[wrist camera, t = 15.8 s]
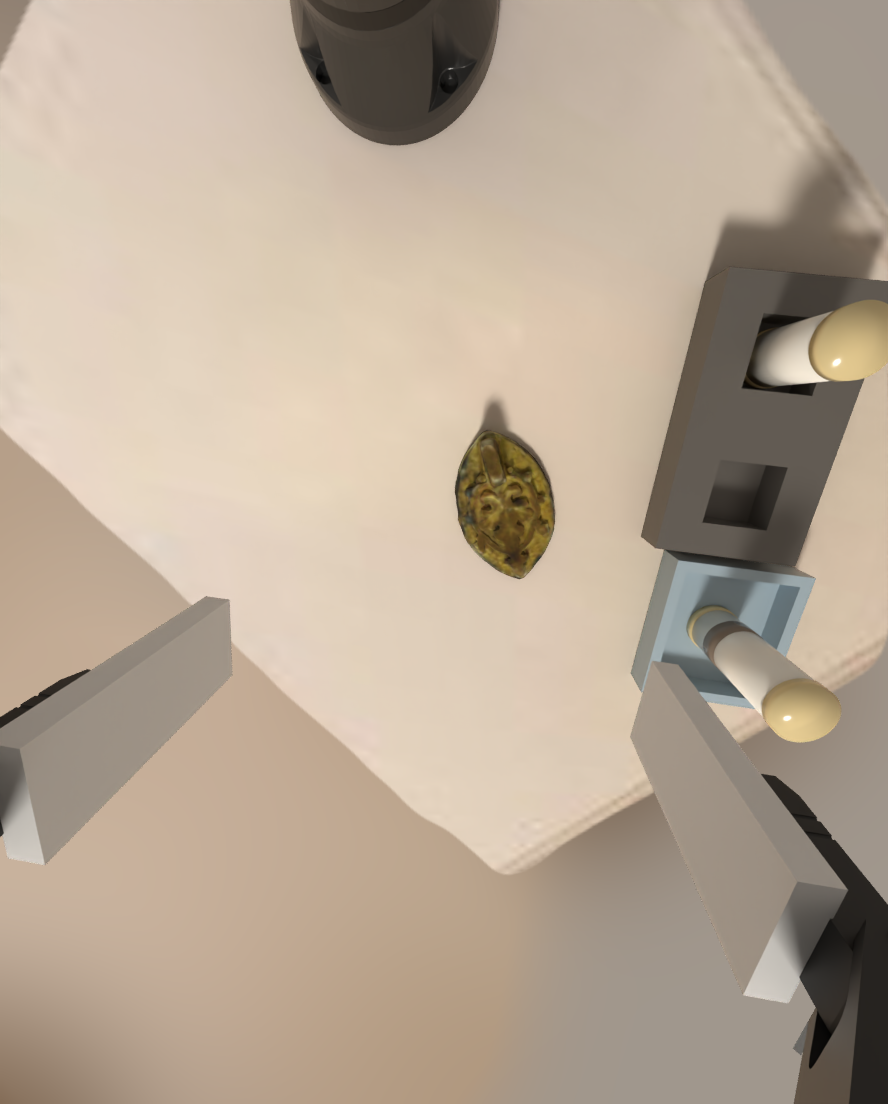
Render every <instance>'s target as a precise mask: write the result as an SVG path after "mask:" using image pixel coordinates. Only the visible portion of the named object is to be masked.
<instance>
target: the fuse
mask: <svg viewBox="0 0 888 1104" xmlns="http://www.w3.org/2000/svg"><path fill="white" fill-rule="evenodd" d="M887 363H888V304H887V303H885V302H882V301H878V300H863V301H859V302H855V303H852V304H849V305H846V306H843V307H840V308H838V309H836V310H835V311H832V312H828V313H825V314H822V315H818V316H815V317H812V318H808V319H805V320H802V321H798V322H795V323H792V324H788V325H785V326H782V327H776V328H771V329H767V330H764V331H761V332H759V333H758V334H757V337H756V341H755V344H754V348H753V351H752V354H751V358H750V361H749V365H748V368H747V372H746V375H745V378H744V382H743V383H744V384H745V385H747V386H748V387H751V388H754V389H767V388H774V387H777V386H785V385H795V384H805V383H815V382H825V381H834V382H841V381H852V380H859V379H863V378H866V377H868V376H870V375H872V374H874V373H876V372H877V371H879V370H880V369H881V368H882V367H884V366H885V365H886V364H887Z"/></svg>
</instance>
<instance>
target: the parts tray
mask: <svg viewBox="0 0 888 1104" xmlns="http://www.w3.org/2000/svg"><path fill="white" fill-rule="evenodd" d="M815 580H816V578H814V577H812V576H810V575H808V574H806V573H804V572H802V571H800V570H798V569H796V568H794V567H792V566H786V565H779V564H771V563H763V562H756V561H748V560H740V559H733V558H725V557H717V556H709V555H702V554H694V553H686V552H679V551H671V550H664V553H663V557H662V561H661V564H660V568H659V572H658V575H657V579H656V583H655V586H654V590H653V594H652V597H651V601H650V605H649V609H648V612H647V616H646V620H645V623H644V627H643V631H642V634H641V638H640V642H639V645H638V649H637V653H636V656H635V660H634V664H633V667H632V671H631V674H632V676H633V678H634V680H635V682H636V684H637V685H638V687H639V689H640V691H641V692H643V690H644V687H645V683H646V680H647V676H648V673H649V669H650V665H651V662H652V661H657V662H664V663H671V664H678V665H679V666H680V668H681V669H682V670H683V672H684V673H685V674H686V676H687V677H688V678H689V680H690V681H691V682H692V684H693V685H694V686H695V688H696V689H697V690H698V692H699V693H700V694H701V696H702V697H703V698H704V700H705V701H706V702H711V703H718V704H724V705H731V706H738V707H745V708H751V709H755V708H754V707H753V706H752V704H751V703H750V702H749V701H748V700H747V699H746V698H745V697H744V696H743V695H742V694H741V692H740V691H739V690H738V689H737V688H736V687H735V686H734V685H733V684H732V683H731V682H730V681H729V679H728V678H727V677H726V676H725V675H724V674H723V673H722V672H721V671H720V670H719V669H718V668H717V667H716V666H715V665H714V664H713V663H712V662H711V661H710V660H709V658H708V657H707V656H706V655H705V653H704V652H703V651H702V650H701V649H700V648H698V647H697V646H696V645H695V644H694V643H693V642H692V641H691V639H690V638H689V637H688V634H687V630H686V626H687V622H688V620H689V618H690V616H691V615H692V614H693V613H694V612H695V611H697V610H698V609H700V608H702V607H704V606H709V605H718V606H722V607H725V608H726V609H728V610H729V611H731V612H732V613H733V614H734V615H735V616H736V617H737V618H738V619H739V620H740V621H741V622H742V623H744V624H746V625H747V626H748V627H750V628H751V629H752V630H753V631H755V632H756V633H757V634H758V635H760V636H761V637H762V638H763V639H764V640H765V641H766V642H767V643H769V644H770V645H771V646H772V647H774V648H775V649H776V650H777V651H778V652H780V653H781V654H782V655H783V656H785V657H786V655H787V652H788V649H789V647H790V644H791V642H792V639H793V636H794V634H795V631H796V629H797V626H798V623H799V621H800V618H801V616H802V613H803V611H804V608H805V605H806V603H807V600H808V598H809V595H810V592H811V590H812V587H813V585H814V582H815Z"/></svg>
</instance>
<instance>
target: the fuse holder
mask: <svg viewBox="0 0 888 1104" xmlns="http://www.w3.org/2000/svg"><path fill="white" fill-rule="evenodd" d="M863 300H878V301H882V302H885V303H887V304H888V281H880V280H869V279H858V278H847V277H836V276H825V275H814V274H804V273H793V272H782V271H771V270H760V269H749V268H738V267H729V268H727V269H725V270H724V271H722V272H721V273H719V274H717V275H716V276H714V277H712V278H711V279H709V280H708V281H706V282H705V285H704V289H703V293H702V297H701V301H700V305H699V309H698V313H697V317H696V321H695V325H694V329H693V333H692V337H691V340H690V344H689V348H688V352H687V356H686V360H685V364H684V368H683V372H682V376H681V380H680V384H679V388H678V392H677V396H676V400H675V404H674V408H673V412H672V416H671V420H670V424H669V428H668V432H667V436H666V440H665V444H664V447H663V451H662V455H661V459H660V463H659V467H658V471H657V475H656V479H655V483H654V487H653V491H652V495H651V499H650V503H649V507H648V511H647V515H646V519H645V523H644V527H643V531H642V535H641V537H642V538H643V539H645V540H646V541H647V542H648V543H650V544H651V545H652V546H653V547H655V548H658V549H666V550H673V551H681V552H689V553H697V554H704V555H712V556H720V557H727V558H735V559H743V560H750V561H758V562H766V563H773V564H781V565H789V566H795V565H796V563H797V560H798V557H799V554H800V552H801V549H802V546H803V544H804V541H805V538H806V535H807V533H808V530H809V527H810V525H811V522H812V519H813V516H814V514H815V511H816V508H817V506H818V503H819V500H820V497H821V495H822V492H823V489H824V487H825V484H826V481H827V478H828V476H829V473H830V470H831V468H832V465H833V462H834V459H835V457H836V454H837V451H838V449H839V446H840V443H841V440H842V438H843V435H844V432H845V430H846V427H847V424H848V421H849V419H850V416H851V413H852V411H853V408H854V405H855V402H856V400H857V397H858V394H859V392H860V389H861V386H862V383H863V381H864V378H863V379H859V380H852V381H841V382H834V381H825V382H815V383H805V384H795V385H785V386H777V387H774V388H767V389H754V388H751V387H748V386H747V385H745V384H744V383H743V382H744V378H745V375H746V372H747V368H748V365H749V361H750V358H751V354H752V351H753V348H754V344H755V341H756V337H757V334H758V333H759V332H761V331H764V330H767V329H771V328H776V327H782V326H785V325H788V324H792V323H795V322H798V321H802V320H805V319H808V318H812V317H815V316H818V315H822V314H825V313H828V312H832V311H835V310H836V309H838V308H840V307H843V306H846V305H849V304H852V303H855V302H859V301H863Z"/></svg>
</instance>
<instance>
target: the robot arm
mask: <svg viewBox="0 0 888 1104" xmlns="http://www.w3.org/2000/svg"><path fill="white" fill-rule="evenodd" d="M290 6H291V13H292V21H293V26H294V32H295V36H296V40H297V43H298V46H299V49H300V53H301V56H302V58H303V61H304V64H305V66H306V68H307V70H308V72H309V74H310V76H311V78H312V80H313V82H314V84H315V86H316V88H317V89H318V91H319V93H320V95H321V97H322V98H323V100H324V102H325V103H326V105H327V106H328V107H329V109H330V110H331V111H332V113H333V114H334V115H335V116H336V117H337V118H338V119H339V120H340V121H341V122H342V123H343V124H344V125H345V126H346V127H348V128H349V129H350V130H352V131H353V132H355V133H356V134H358V135H360V136H362V137H364V138H366V139H368V140H371V141H374V142H377V143H381V144H387V145H407V144H412V143H417V142H420V141H423V140H426V139H428V138H430V137H432V136H434V135H436V134H438V133H439V132H441V131H442V130H444V129H445V128H447V127H448V126H449V125H450V124H452V123H453V122H454V121H455V120H456V119H457V118H458V117H459V116H460V115H461V114H462V113H463V112H464V110H465V109H466V108H467V107H468V105H469V104H470V103H471V101H472V100H473V98H474V97H475V95H476V93H477V92H478V90H479V88H480V86H481V84H482V82H483V80H484V78H485V76H486V73H487V70H488V68H489V65H490V62H491V59H492V55H493V51H494V47H495V42H496V36H497V28H498V6H499V0H290ZM231 655H232V653H231V628H230V603H229V600H228V599H221V598H214V597H207V596H206V597H204V598H203V599H201V600H200V601H198V602H197V603H195V604H194V605H192V606H190V607H189V608H187V609H186V610H184V611H183V612H181V613H180V614H178V615H176V616H175V617H173V618H172V619H170V620H169V621H167V622H166V623H164V624H162V625H161V626H159V627H158V628H156V629H155V630H153V631H151V632H150V633H148V634H147V635H145V636H144V637H142V638H141V639H139V640H138V641H136V642H134V643H133V644H132V645H130V646H128V647H127V648H125V649H123V650H122V651H120V652H119V653H117V654H116V655H114V656H112V657H111V658H109V659H108V660H106V661H105V662H103V663H102V664H100V665H98V666H97V667H95V668H94V669H92V670H88V669H87V670H84V671H82V672H79V673H77V674H74V675H72V676H69V677H67V678H64V679H61V680H59V681H58V682H56V683H55V684H53V685H52V686H50V687H48V688H47V689H45V690H43V691H42V692H40V693H39V695H38V696H34V697H32V698H30V699H29V700H27V701H26V702H24V703H22V704H21V706H20V707H19V708H17V707H16V708H14V709H13V710H11V711H9V712H8V713H6V714H5V715H3V716H1V717H0V836H3V840H4V844H5V848H6V852H7V856H8V858H10V859H15V860H21V861H26V862H31V863H36V864H42V865H45V864H46V863H47V862H48V861H49V860H50V859H51V858H52V857H53V856H54V855H55V854H56V853H57V852H58V851H59V850H60V849H61V848H62V847H63V846H64V845H65V844H66V843H67V842H68V841H69V840H70V839H71V838H72V837H73V836H74V835H75V834H76V833H77V832H78V831H79V830H80V829H81V828H82V827H83V826H84V825H85V824H86V823H87V822H88V821H89V820H90V819H91V818H92V817H93V816H94V815H95V814H96V813H97V812H98V811H99V810H100V809H101V808H102V806H104V805H105V804H106V803H107V802H108V801H109V800H110V799H111V798H112V797H113V795H114V794H116V793H117V792H118V791H119V789H120V788H121V787H122V786H123V785H124V784H125V783H126V782H127V781H128V780H129V779H130V778H131V777H132V776H133V775H134V774H135V773H136V772H137V771H138V770H139V769H140V768H141V767H142V766H143V765H144V764H145V763H146V762H147V761H148V760H149V759H150V758H151V757H152V756H153V755H154V754H155V753H156V752H157V751H158V750H159V749H160V748H161V747H162V746H163V745H164V744H165V743H166V742H167V741H168V740H169V739H170V738H171V737H172V736H173V735H174V734H175V733H176V732H177V731H178V730H179V729H180V728H181V727H182V726H183V725H184V723H186V722H187V720H189V719H190V718H191V717H192V716H193V714H194V713H195V712H196V711H197V710H198V709H199V708H200V707H201V706H202V705H203V704H204V703H205V702H206V701H207V700H208V699H209V698H210V697H211V696H212V695H213V694H214V693H215V692H216V691H217V690H218V689H219V688H220V687H221V686H222V685H223V684H224V683H225V682H226V681H227V680H228V679H229V678H230V677H231V676H232V656H231ZM630 737H631V740H632V742H633V744H634V747H635V749H636V751H637V753H638V756H639V758H640V760H641V763H642V765H643V767H644V769H645V772H646V774H647V776H648V779H649V781H650V783H651V785H652V788H653V790H654V792H655V795H656V797H657V799H658V801H659V803H660V806H661V808H662V811H663V813H664V815H665V817H666V820H667V822H668V824H669V827H670V829H671V831H672V834H673V836H674V838H675V840H676V843H677V845H678V847H679V850H680V852H681V854H682V856H683V859H684V861H685V863H686V866H687V868H688V870H689V872H690V875H691V877H692V879H693V882H694V884H695V886H696V888H697V890H698V893H699V895H700V898H701V900H702V902H703V904H704V907H705V909H706V911H707V913H708V916H709V918H710V920H711V923H712V925H713V927H714V929H715V932H716V934H717V937H718V939H719V941H720V943H721V946H722V948H723V950H724V952H725V955H726V957H727V959H728V962H729V964H730V966H731V968H732V971H733V973H734V975H735V978H736V980H737V982H738V985H739V987H740V989H741V991H742V994H743V995H745V996H751V997H756V998H761V999H768V1000H773V1001H777V1002H783V1003H789V1001H790V999H791V997H792V995H793V993H794V991H795V990H796V988H797V986H798V984H799V982H800V980H801V981H802V983H803V985H804V987H805V989H806V990H807V992H808V994H809V996H810V998H811V1000H812V1001H813V1003H814V1005H815V1007H816V1008H815V1010H814V1012H813V1014H812V1015H811V1017H810V1019H809V1021H808V1023H807V1025H806V1026H805V1028H804V1030H803V1032H802V1033H801V1035H800V1037H799V1039H798V1040H797V1042H796V1044H795V1046H794V1048H793V1049H794V1050H795V1051H797V1052H798V1053H799V1054H800V1055H801V1054H802V1053H803V1055H802V1061H801V1067H800V1073H799V1078H798V1084H797V1089H796V1095H795V1100H794V1104H888V904H887V903H886V902H885V901H884V899H883V898H882V897H881V896H880V895H879V893H878V892H877V891H876V890H875V888H874V887H873V886H872V885H871V883H870V882H869V881H868V880H867V879H866V877H865V876H864V875H863V874H862V872H861V871H860V870H859V869H858V868H857V866H856V865H855V864H854V863H853V861H852V860H851V859H850V858H849V856H848V855H847V854H846V853H845V851H844V850H843V849H842V848H841V847H840V845H839V844H838V843H837V842H836V841H835V840H832V838H831V834H830V833H829V832H828V831H827V829H826V828H825V827H824V826H823V824H822V823H821V822H819V821H817V817H816V816H815V815H814V813H813V812H812V811H811V810H810V808H809V807H808V806H807V805H806V803H805V802H804V801H803V800H802V799H801V797H800V796H799V795H798V794H796V793H795V792H794V791H793V790H791V789H790V788H789V787H788V786H787V785H785V784H784V783H783V782H782V781H781V780H779V779H778V778H777V777H776V776H771V775H764V774H760V773H759V771H758V770H757V769H756V767H755V766H754V765H753V763H752V762H751V761H750V759H749V758H748V757H747V755H746V754H745V753H744V751H743V750H742V749H741V747H740V746H739V745H738V743H737V742H736V741H735V739H734V738H733V737H732V735H731V734H730V733H729V731H728V730H727V729H726V727H725V726H724V725H723V723H722V722H721V721H720V720H719V718H718V717H717V716H716V714H715V713H714V712H713V710H712V709H711V708H710V706H709V705H708V704H707V702H706V701H705V700H704V698H703V697H702V696H701V694H700V693H699V692H698V690H697V689H696V688H695V686H694V685H693V684H692V682H691V681H690V680H689V678H688V677H687V676H686V674H685V673H684V672H683V670H682V669H681V668H680V666H679V665H678V664H671V663H664V662H657V661H652V662H651V665H650V669H649V673H648V676H647V680H646V683H645V687H644V690H643V694H642V697H641V701H640V704H639V708H638V711H637V715H636V718H635V722H634V725H633V729H632V732H631V736H630Z"/></svg>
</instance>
